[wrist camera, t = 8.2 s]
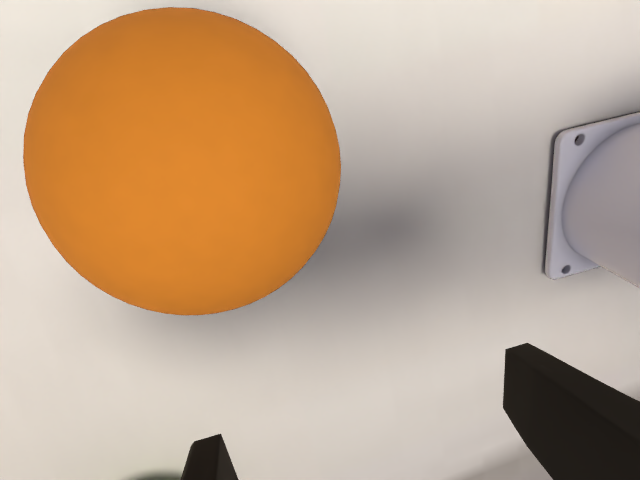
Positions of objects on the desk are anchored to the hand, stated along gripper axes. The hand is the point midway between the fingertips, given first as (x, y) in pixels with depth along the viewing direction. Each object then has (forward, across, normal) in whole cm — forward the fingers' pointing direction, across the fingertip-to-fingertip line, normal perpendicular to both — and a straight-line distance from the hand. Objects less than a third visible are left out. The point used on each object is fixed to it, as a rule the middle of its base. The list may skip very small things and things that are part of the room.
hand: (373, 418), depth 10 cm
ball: (+4, +2, -7) cm, 8 cm away
